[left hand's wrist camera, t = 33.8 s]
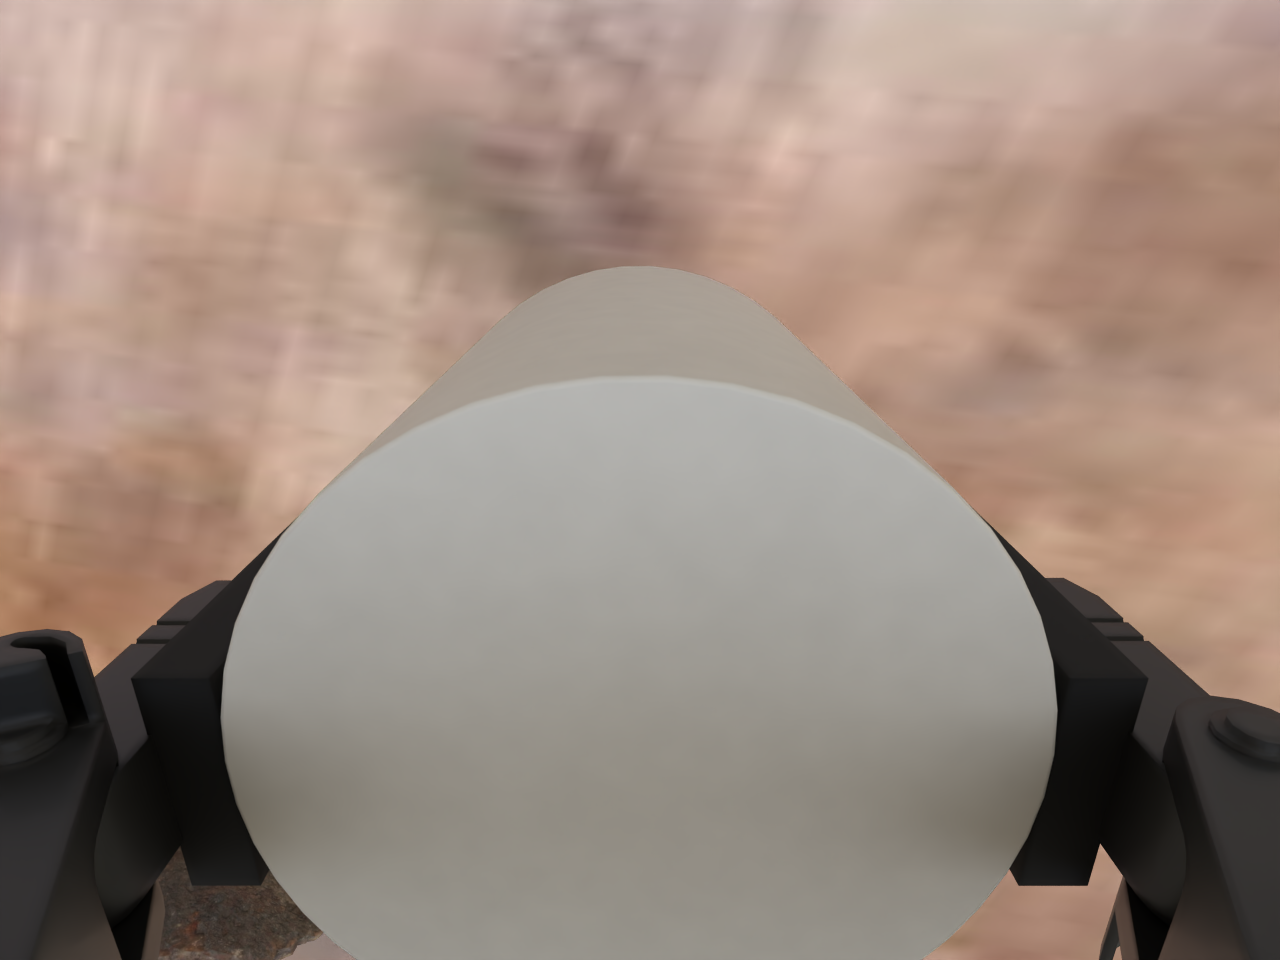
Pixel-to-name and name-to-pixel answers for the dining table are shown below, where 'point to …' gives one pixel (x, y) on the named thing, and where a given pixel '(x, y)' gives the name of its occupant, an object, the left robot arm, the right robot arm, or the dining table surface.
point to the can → (639, 659)
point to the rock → (229, 919)
